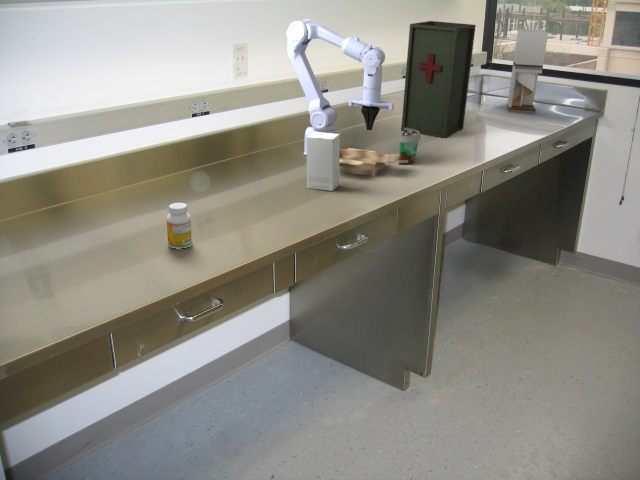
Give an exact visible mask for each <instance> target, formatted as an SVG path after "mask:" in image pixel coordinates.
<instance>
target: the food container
mask: <svg viewBox="0 0 640 480" xmlns="http://www.w3.org/2000/svg"><path fill="white" fill-rule="evenodd" d="M421 139H422V138H421V134H420V133H419V131H417V130H415V129H411V128H404V131H402V134H401V135H400V139H399V140H400V141H399V142H400V144H399V154H401V156H400V157H399V158H398V166H410V165H414V164H415V163H416V158H417V153H418V152H417V151H418V146H419V141H421Z"/></svg>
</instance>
